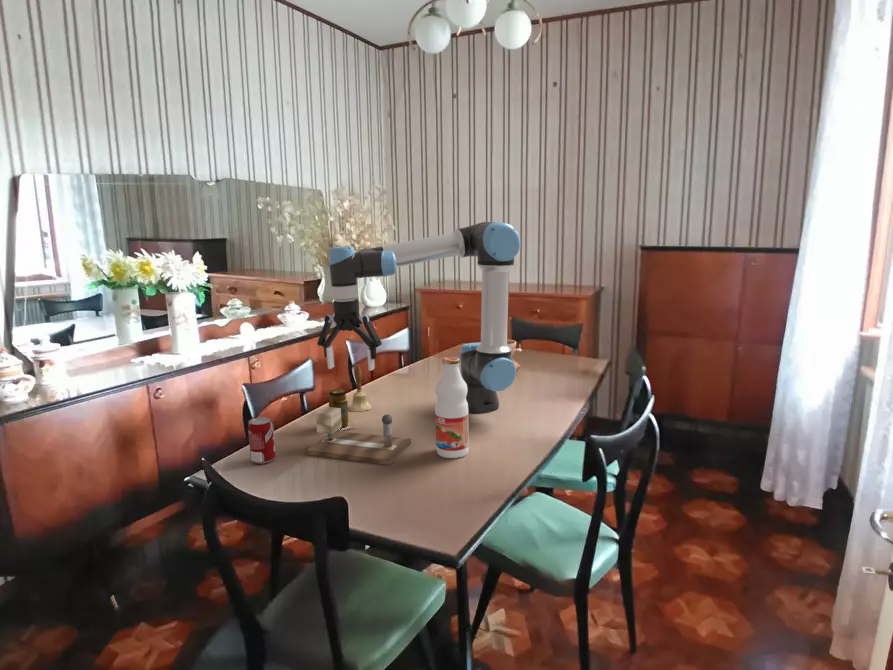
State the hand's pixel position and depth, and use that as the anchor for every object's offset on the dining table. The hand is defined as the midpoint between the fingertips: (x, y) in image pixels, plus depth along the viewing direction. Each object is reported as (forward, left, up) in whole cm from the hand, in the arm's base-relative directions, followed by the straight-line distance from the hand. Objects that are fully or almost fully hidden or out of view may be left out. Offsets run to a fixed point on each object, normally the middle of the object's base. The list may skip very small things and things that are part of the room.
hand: (351, 368), depth 179 cm
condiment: (+9, -7, -22) cm, 25 cm away
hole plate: (-6, +8, -22) cm, 24 cm away
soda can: (+17, +23, -22) cm, 36 cm away
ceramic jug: (-27, -83, -22) cm, 90 cm away
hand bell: (+11, -26, -22) cm, 36 cm away
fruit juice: (-33, +3, -22) cm, 40 cm away
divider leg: (+4, +8, -20) cm, 22 cm away
